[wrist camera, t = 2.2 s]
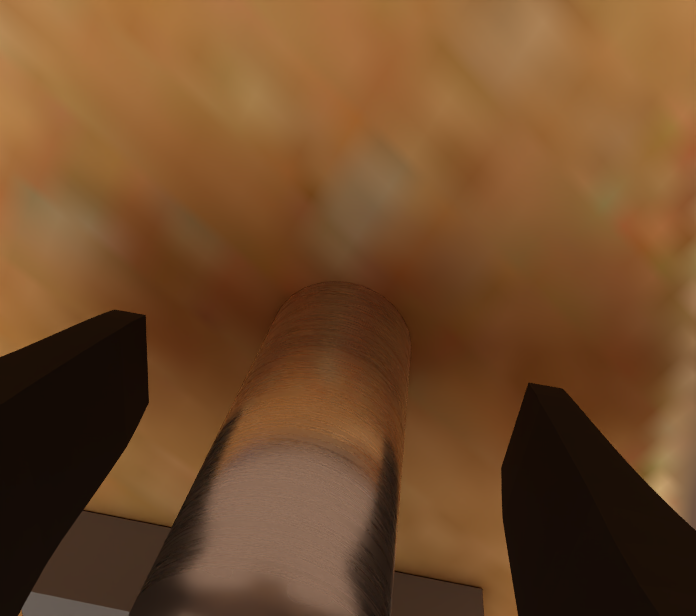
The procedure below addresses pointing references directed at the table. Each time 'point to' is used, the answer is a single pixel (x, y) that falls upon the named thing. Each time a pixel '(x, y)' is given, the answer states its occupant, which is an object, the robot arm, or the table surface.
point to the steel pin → (299, 473)
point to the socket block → (139, 556)
